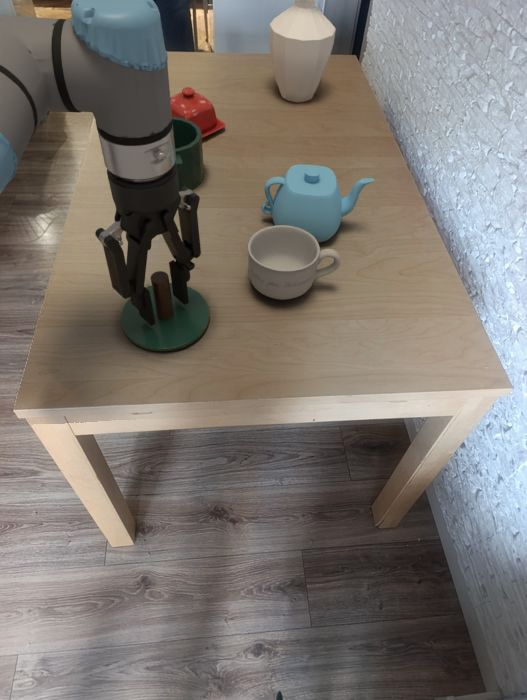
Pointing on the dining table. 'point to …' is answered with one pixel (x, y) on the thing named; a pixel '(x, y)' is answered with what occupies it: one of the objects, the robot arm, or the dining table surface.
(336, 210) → the teapot
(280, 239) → the teacup
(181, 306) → the pot lid
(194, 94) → the butter dish
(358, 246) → the dining table surface
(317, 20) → the vase
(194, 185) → the pot
